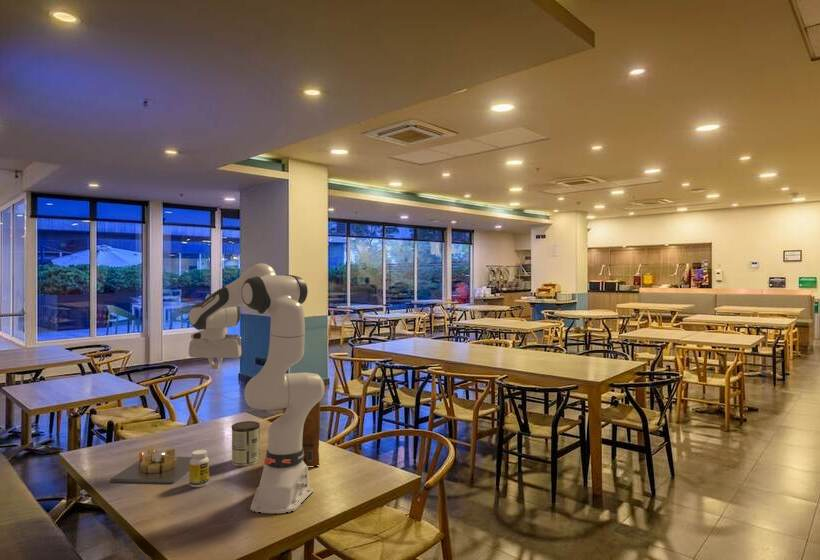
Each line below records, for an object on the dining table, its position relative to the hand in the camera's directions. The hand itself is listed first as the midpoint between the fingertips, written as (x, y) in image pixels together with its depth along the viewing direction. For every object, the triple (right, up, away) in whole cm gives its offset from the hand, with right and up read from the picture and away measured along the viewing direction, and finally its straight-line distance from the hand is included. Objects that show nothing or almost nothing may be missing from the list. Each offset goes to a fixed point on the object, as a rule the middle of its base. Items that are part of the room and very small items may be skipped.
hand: (215, 368), depth 202 cm
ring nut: (-15, -33, -17) cm, 40 cm away
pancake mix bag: (+36, -35, -9) cm, 51 cm away
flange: (-14, -34, -17) cm, 41 cm away
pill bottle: (+6, -35, -29) cm, 46 cm away
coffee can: (+15, -35, -7) cm, 38 cm away
